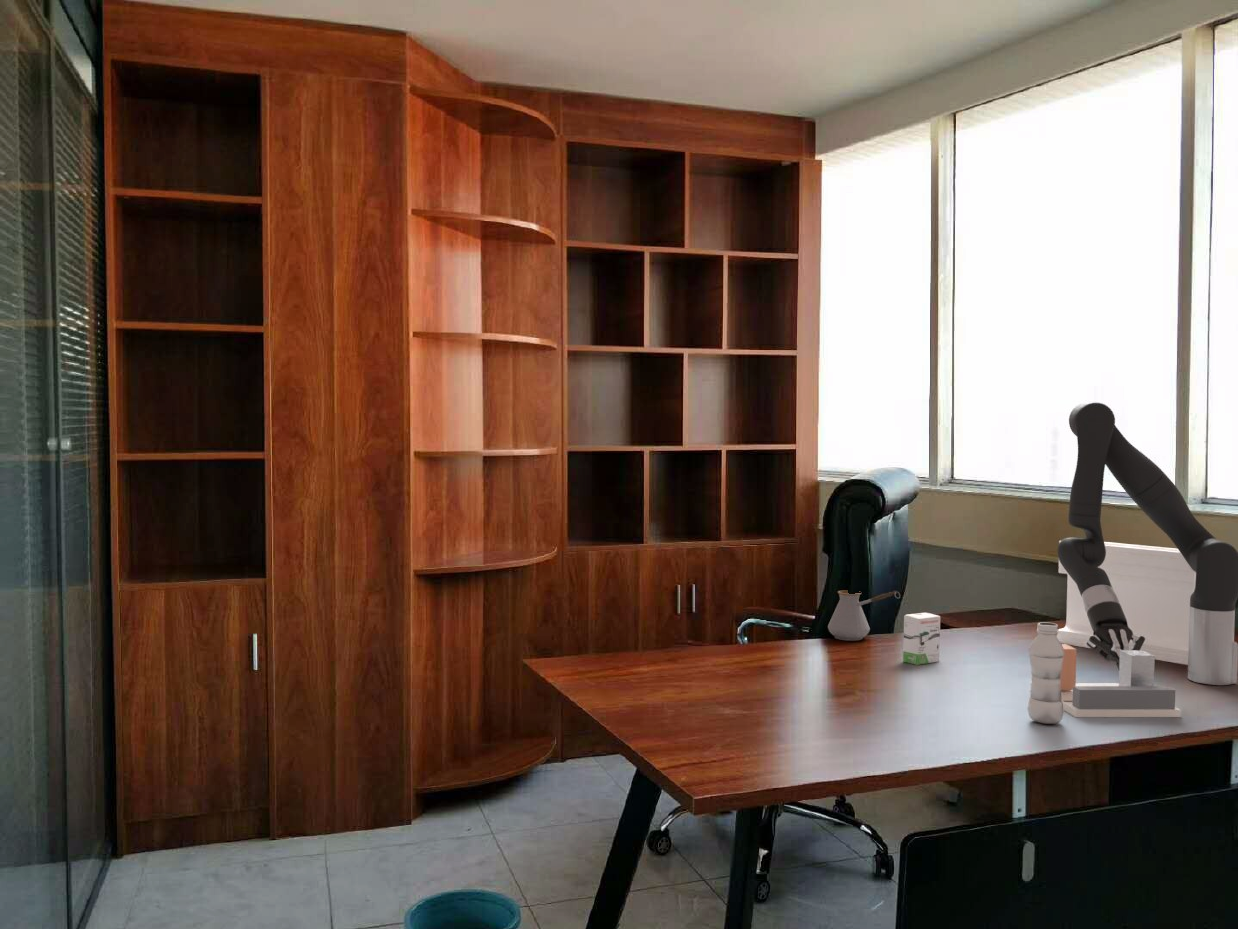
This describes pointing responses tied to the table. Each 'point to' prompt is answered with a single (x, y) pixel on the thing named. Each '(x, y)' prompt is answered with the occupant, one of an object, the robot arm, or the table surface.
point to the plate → (1113, 711)
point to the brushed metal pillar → (1136, 668)
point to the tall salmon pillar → (1068, 668)
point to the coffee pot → (851, 616)
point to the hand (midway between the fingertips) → (1129, 675)
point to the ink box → (921, 638)
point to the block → (1141, 599)
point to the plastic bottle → (1046, 675)
